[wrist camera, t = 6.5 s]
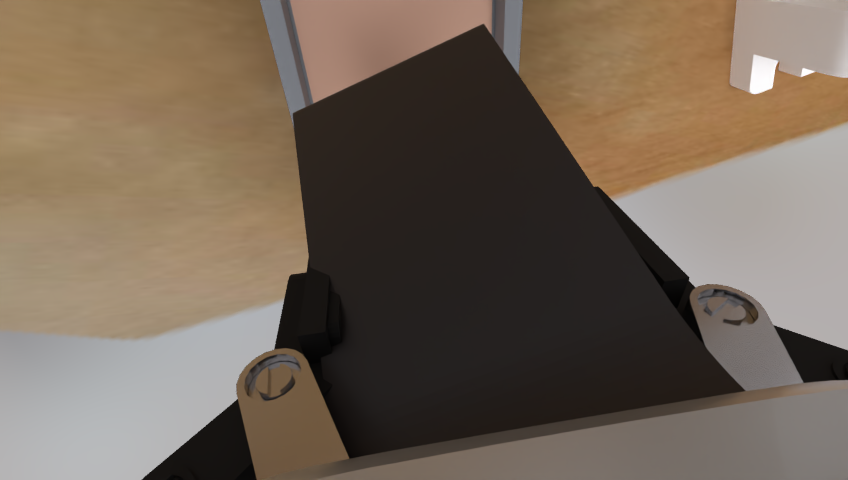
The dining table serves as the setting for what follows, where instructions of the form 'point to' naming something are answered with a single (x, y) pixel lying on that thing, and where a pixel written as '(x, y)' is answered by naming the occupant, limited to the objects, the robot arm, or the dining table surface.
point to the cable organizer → (788, 40)
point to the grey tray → (372, 37)
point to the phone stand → (476, 263)
